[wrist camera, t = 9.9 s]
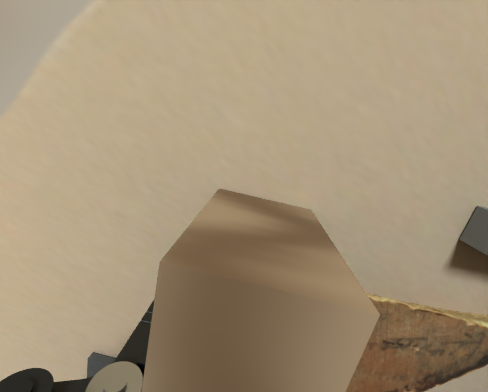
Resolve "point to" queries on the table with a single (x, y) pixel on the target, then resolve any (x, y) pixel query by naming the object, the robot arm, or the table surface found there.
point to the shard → (419, 347)
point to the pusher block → (255, 304)
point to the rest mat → (97, 363)
